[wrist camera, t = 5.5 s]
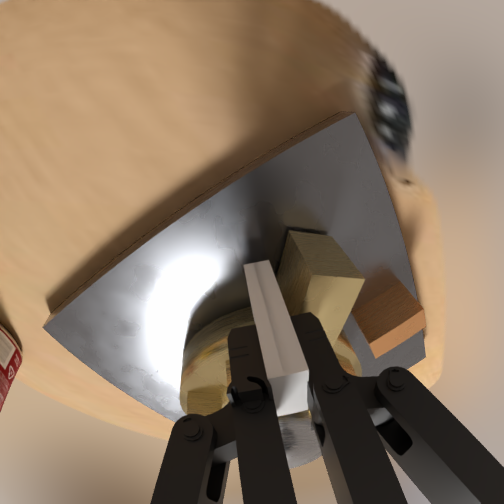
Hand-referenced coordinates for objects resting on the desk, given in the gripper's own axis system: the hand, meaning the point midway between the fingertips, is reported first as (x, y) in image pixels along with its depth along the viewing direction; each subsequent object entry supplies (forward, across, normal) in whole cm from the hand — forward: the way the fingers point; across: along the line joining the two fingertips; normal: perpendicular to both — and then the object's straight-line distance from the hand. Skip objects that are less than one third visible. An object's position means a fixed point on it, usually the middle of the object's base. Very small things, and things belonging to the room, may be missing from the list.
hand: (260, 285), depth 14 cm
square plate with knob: (+3, 0, -8) cm, 9 cm away
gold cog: (+1, 0, -6) cm, 6 cm away
